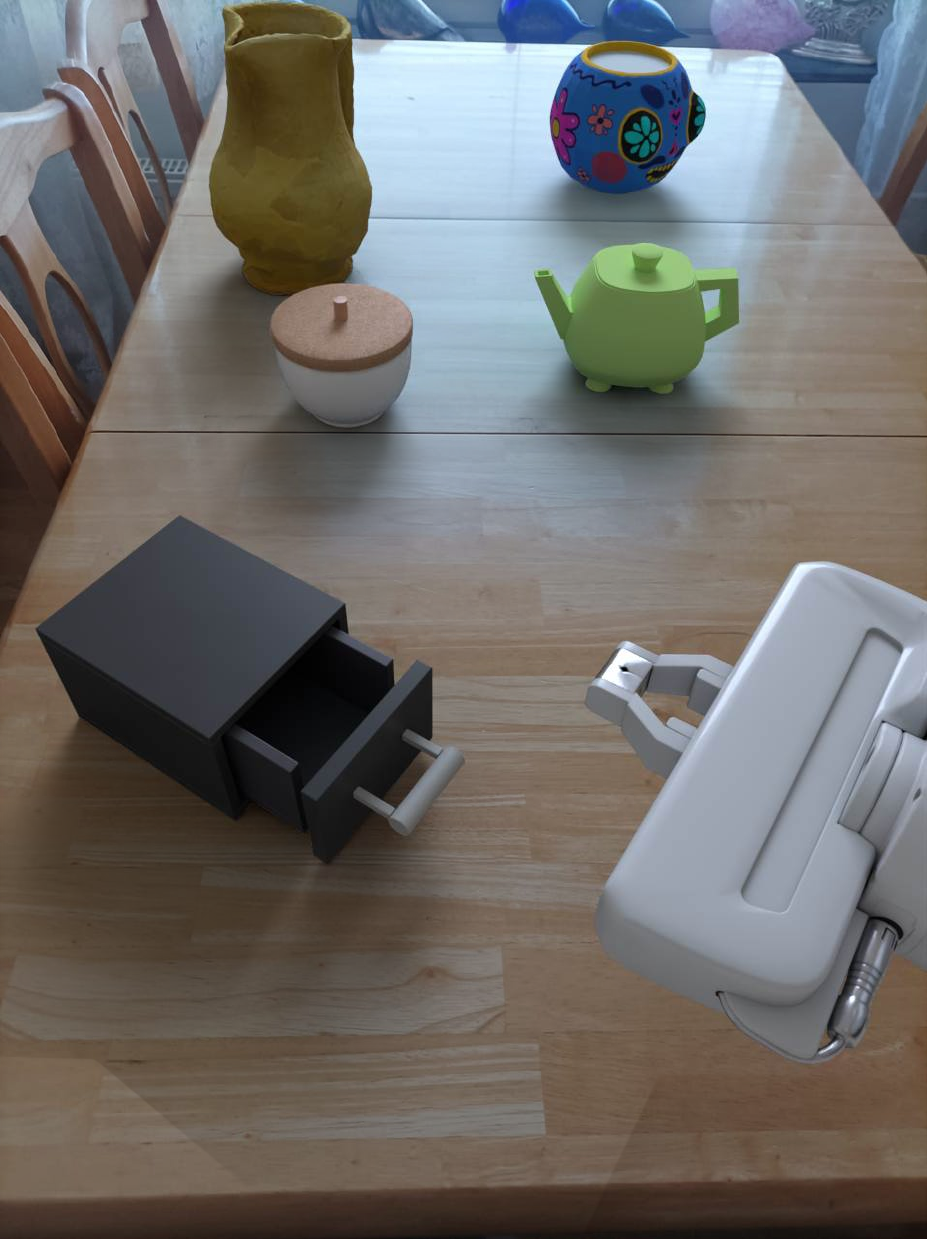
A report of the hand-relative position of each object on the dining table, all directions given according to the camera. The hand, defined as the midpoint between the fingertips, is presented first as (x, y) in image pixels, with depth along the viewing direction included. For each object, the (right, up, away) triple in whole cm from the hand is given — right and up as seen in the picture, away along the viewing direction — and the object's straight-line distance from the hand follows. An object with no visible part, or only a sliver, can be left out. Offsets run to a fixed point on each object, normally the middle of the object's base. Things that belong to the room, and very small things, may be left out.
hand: (602, 672), depth 39 cm
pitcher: (-24, +43, +67) cm, 83 cm away
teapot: (+11, +28, +55) cm, 63 cm away
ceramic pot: (+13, +59, +82) cm, 102 cm away
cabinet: (-23, -4, +27) cm, 36 cm away
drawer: (-15, -7, +23) cm, 28 cm away
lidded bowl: (-17, +23, +50) cm, 58 cm away
